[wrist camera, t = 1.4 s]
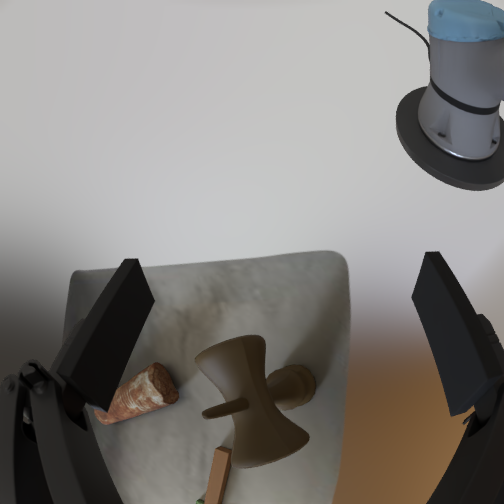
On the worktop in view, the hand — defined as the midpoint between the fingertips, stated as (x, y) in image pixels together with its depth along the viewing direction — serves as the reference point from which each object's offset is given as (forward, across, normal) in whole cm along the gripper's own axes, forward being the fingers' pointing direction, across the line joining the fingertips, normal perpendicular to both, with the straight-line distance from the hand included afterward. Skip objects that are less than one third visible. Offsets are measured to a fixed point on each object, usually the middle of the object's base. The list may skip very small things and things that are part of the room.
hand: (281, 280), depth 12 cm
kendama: (+7, +1, -23) cm, 24 cm away
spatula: (-7, -9, -35) cm, 37 cm away
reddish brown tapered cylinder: (+6, -22, -31) cm, 39 cm away
